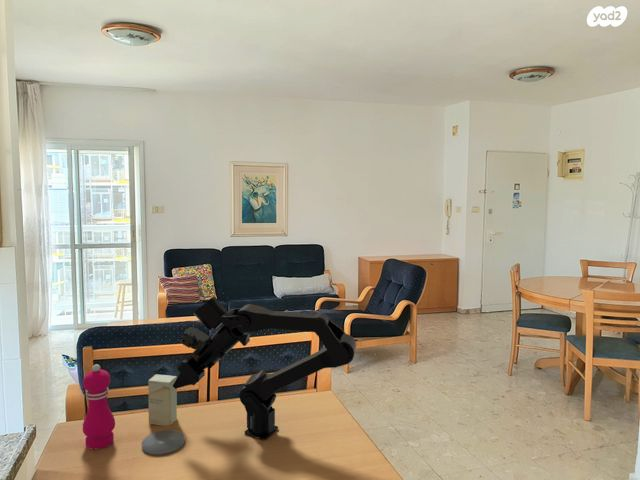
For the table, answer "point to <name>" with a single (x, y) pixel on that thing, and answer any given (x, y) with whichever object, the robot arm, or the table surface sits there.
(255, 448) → the table surface
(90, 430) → the pepper mill
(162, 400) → the skincare box
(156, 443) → the charcoal coaster
